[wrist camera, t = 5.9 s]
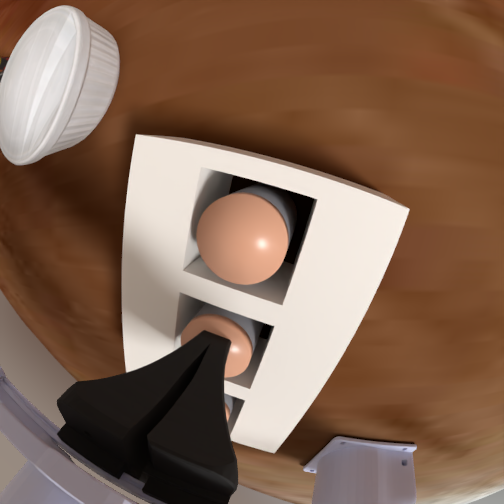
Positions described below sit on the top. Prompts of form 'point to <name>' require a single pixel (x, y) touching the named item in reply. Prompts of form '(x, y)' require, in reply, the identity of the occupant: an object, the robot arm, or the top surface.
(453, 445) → the top surface
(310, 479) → the top surface
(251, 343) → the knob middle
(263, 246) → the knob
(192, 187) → the white egg carton
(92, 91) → the ramekin
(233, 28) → the top surface
